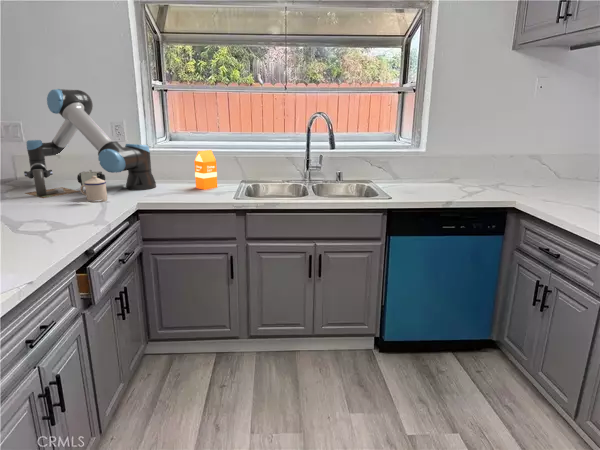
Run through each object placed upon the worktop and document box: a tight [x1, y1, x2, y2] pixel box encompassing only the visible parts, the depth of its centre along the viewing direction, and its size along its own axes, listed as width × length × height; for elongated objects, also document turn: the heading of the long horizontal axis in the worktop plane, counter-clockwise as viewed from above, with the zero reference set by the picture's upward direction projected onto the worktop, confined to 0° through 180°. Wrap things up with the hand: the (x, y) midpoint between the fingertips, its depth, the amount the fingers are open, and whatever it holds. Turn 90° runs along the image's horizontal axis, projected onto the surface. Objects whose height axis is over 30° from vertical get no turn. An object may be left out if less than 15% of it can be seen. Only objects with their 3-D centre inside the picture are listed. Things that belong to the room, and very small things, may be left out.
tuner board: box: [24, 187, 81, 199], centre depth 202 cm, size 18×18×1 cm
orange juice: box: [194, 149, 218, 191], centre depth 222 cm, size 8×9×20 cm
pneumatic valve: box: [76, 169, 106, 187], centre depth 204 cm, size 6×12×12 cm, turn 94°
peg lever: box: [33, 169, 64, 196], centre depth 197 cm, size 13×4×12 cm, turn 155°
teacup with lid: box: [79, 176, 108, 204], centre depth 190 cm, size 12×9×12 cm
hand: (38, 177), depth 204 cm, fingers closed
